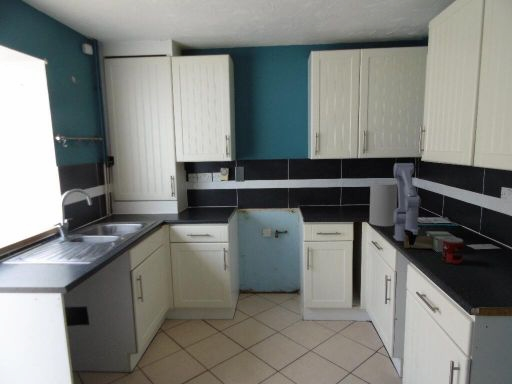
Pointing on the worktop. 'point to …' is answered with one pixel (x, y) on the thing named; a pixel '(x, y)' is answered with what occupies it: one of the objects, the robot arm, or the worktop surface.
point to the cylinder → (383, 203)
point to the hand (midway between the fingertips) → (410, 244)
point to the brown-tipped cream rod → (419, 242)
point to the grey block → (438, 239)
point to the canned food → (452, 250)
